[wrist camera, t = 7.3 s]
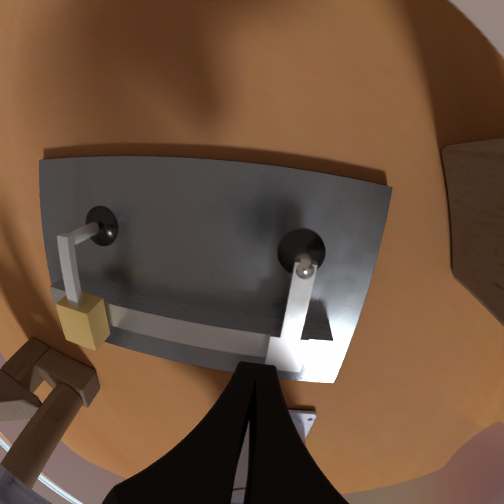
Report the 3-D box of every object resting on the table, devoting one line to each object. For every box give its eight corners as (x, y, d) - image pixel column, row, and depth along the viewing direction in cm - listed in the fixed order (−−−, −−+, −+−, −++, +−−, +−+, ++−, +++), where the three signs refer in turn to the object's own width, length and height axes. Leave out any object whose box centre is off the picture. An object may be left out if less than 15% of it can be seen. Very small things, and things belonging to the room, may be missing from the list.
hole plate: (332, 376, 21) (337, 406, 18) (66, 322, 23) (47, 341, 20) (387, 185, 16) (411, 194, 12) (45, 159, 17) (16, 164, 14)
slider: (120, 321, 20) (96, 351, 16) (91, 313, 20) (66, 339, 16) (110, 222, 17) (75, 241, 13) (78, 219, 17) (42, 236, 13)
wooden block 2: (32, 335, 25) (-49, 423, 8) (96, 368, 25) (17, 490, 8) (38, 355, 26) (-33, 441, 9) (101, 388, 26) (34, 502, 9)
